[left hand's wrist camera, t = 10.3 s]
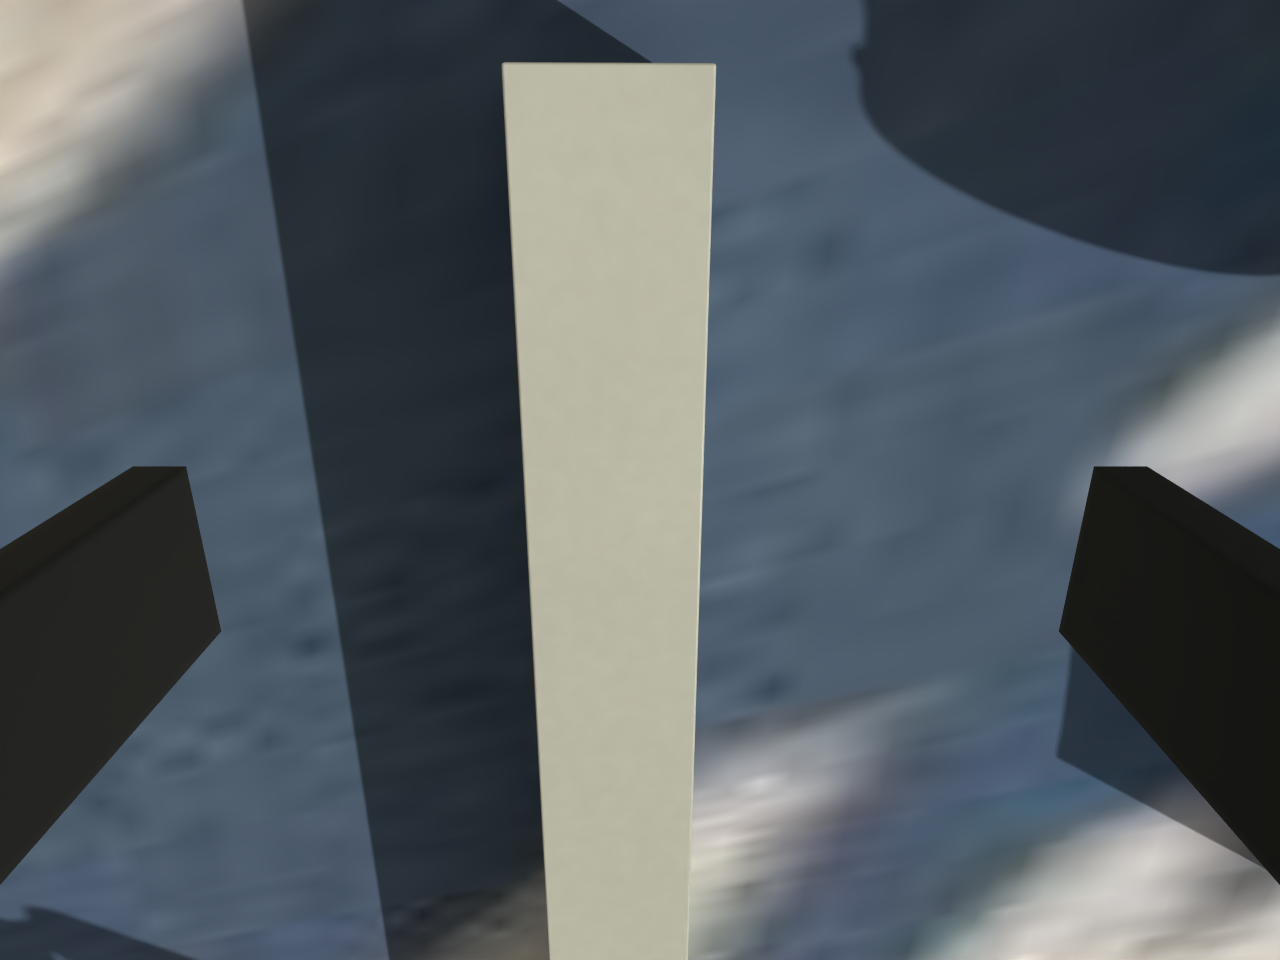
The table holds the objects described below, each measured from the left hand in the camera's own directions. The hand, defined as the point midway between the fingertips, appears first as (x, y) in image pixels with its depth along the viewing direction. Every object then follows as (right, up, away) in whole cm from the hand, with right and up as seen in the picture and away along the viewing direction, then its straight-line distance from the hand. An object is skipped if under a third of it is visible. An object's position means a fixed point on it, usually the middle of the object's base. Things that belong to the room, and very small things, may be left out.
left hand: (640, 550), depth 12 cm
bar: (-1, -16, +26) cm, 30 cm away
